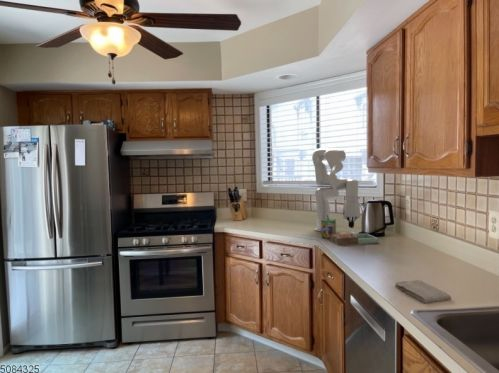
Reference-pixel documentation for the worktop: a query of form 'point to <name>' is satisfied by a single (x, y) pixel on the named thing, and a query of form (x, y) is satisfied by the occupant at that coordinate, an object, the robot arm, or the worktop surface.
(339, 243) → the walnut board
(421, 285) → the washcloth
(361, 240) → the box
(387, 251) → the worktop surface
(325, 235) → the chalk box
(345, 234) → the terracotta block
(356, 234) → the grey tile
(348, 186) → the robot arm
